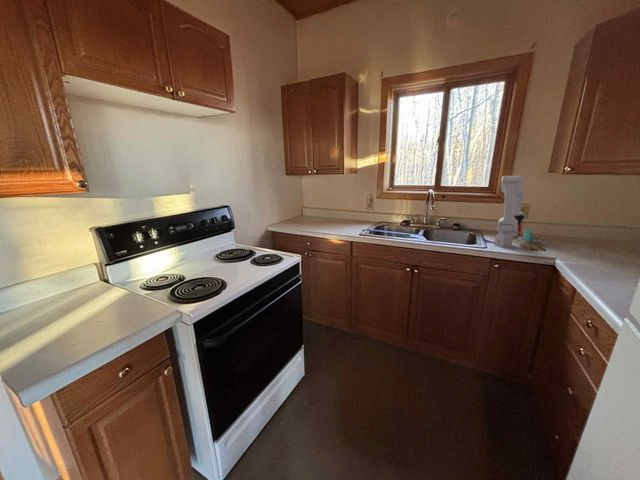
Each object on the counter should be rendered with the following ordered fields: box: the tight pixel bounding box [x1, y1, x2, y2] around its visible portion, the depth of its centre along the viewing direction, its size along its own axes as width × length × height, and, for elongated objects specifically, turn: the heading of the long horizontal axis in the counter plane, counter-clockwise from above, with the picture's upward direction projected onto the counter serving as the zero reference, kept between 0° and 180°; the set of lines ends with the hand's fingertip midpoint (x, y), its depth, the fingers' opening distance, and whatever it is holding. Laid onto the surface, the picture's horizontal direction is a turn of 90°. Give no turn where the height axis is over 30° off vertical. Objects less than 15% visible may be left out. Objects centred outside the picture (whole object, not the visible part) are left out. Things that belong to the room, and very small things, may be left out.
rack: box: [519, 243, 547, 252], centre depth 162 cm, size 10×10×2 cm
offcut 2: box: [522, 243, 531, 251], centre depth 161 cm, size 2×4×3 cm, turn 164°
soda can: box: [513, 220, 524, 238], centre depth 192 cm, size 7×7×12 cm
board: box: [522, 229, 535, 241], centre depth 173 cm, size 2×9×7 cm, turn 166°
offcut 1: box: [519, 240, 527, 249], centre depth 165 cm, size 2×4×4 cm, turn 164°
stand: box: [517, 236, 538, 246], centre depth 174 cm, size 6×12×3 cm, turn 164°
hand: (512, 226), depth 180 cm, fingers open, 7 cm apart
